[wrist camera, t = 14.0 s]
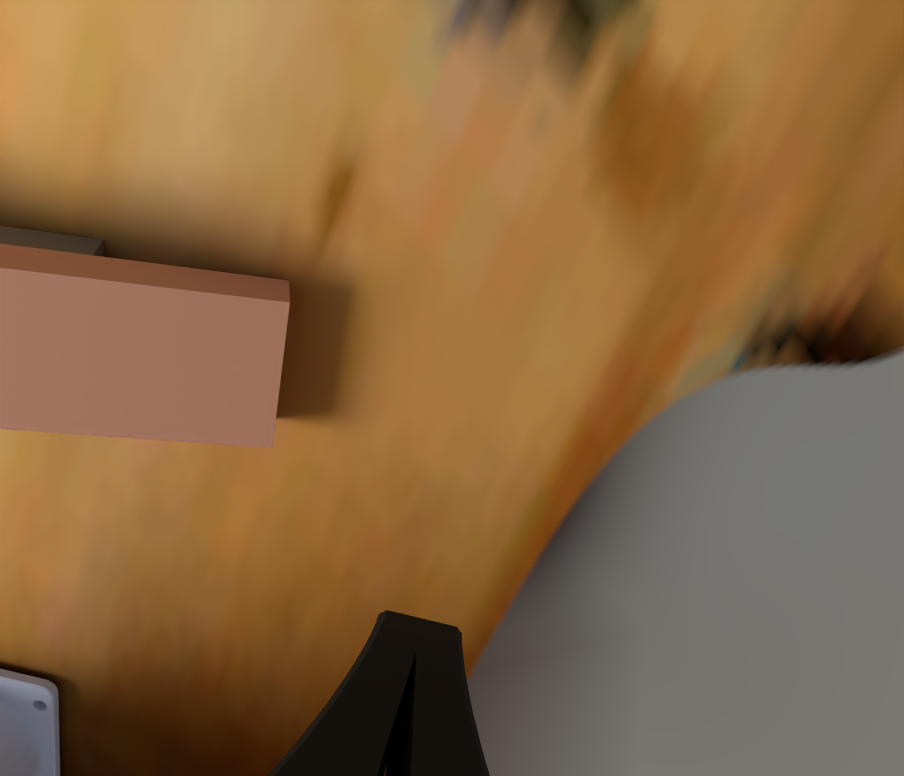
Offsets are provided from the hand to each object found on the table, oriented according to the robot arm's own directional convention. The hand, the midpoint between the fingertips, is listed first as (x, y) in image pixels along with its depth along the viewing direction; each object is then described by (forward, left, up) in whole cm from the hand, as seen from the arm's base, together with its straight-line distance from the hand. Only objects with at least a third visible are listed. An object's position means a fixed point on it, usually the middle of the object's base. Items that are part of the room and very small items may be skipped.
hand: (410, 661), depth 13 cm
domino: (0, +5, -9) cm, 10 cm away
